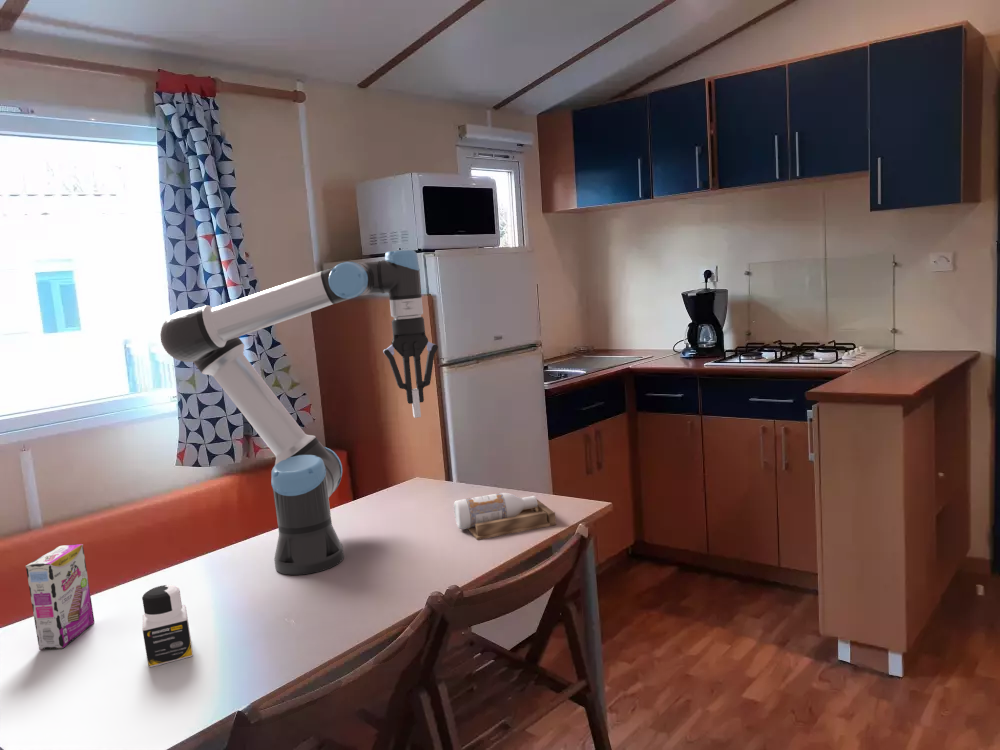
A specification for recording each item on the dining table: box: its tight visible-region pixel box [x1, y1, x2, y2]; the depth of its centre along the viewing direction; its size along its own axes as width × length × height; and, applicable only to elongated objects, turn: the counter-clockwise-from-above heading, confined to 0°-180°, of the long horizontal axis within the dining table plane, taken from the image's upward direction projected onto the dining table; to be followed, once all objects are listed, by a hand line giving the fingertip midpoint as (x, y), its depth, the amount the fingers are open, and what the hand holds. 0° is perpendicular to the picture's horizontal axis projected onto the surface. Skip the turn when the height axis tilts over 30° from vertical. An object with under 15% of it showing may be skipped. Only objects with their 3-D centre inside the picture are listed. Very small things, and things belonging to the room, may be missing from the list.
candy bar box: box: [25, 543, 95, 651], centre depth 151 cm, size 11×5×16 cm, turn 178°
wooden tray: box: [466, 499, 557, 541], centre depth 193 cm, size 20×14×3 cm
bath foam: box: [453, 492, 538, 530], centre depth 193 cm, size 7×7×20 cm
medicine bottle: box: [141, 584, 194, 668], centre depth 139 cm, size 7×7×12 cm
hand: (417, 416), depth 189 cm, fingers closed
